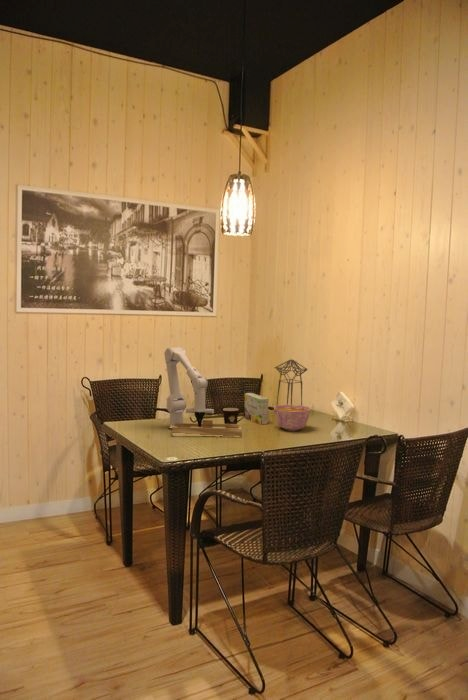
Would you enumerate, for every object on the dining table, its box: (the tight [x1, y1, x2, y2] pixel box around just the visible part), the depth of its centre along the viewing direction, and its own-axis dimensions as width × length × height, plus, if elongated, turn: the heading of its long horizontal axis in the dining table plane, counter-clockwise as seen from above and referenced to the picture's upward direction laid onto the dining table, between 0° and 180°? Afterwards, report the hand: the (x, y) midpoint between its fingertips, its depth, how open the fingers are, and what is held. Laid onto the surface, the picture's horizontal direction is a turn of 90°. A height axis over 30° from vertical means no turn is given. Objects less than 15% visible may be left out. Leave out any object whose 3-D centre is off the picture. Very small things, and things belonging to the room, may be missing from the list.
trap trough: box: [171, 422, 242, 437], centre depth 288 cm, size 11×36×4 cm, turn 89°
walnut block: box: [202, 419, 214, 428], centre depth 288 cm, size 5×5×4 cm
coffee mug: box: [222, 407, 245, 424], centre depth 305 cm, size 12×9×10 cm
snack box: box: [244, 392, 269, 426], centre depth 322 cm, size 21×6×15 cm, turn 25°
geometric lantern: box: [274, 359, 308, 407], centre depth 335 cm, size 16×16×35 cm
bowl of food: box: [273, 404, 311, 432], centre depth 302 cm, size 20×20×12 cm
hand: (199, 426), depth 288 cm, fingers closed
